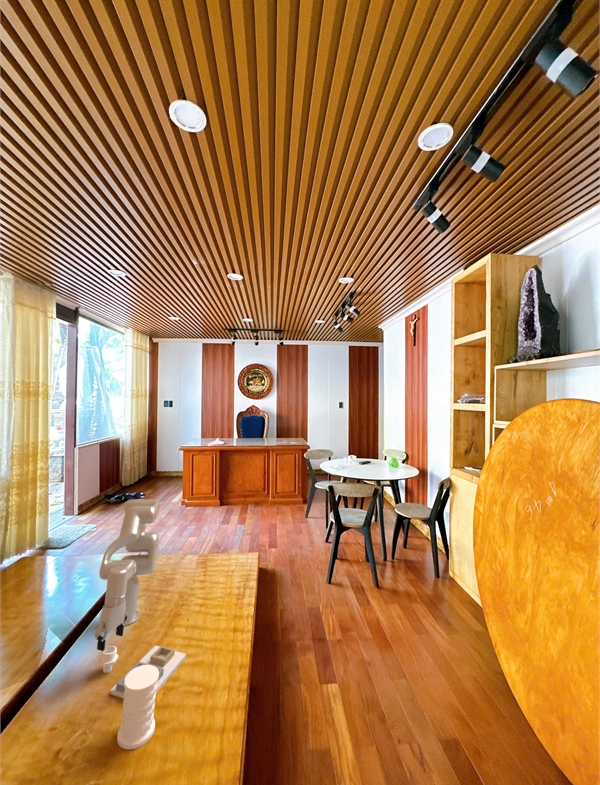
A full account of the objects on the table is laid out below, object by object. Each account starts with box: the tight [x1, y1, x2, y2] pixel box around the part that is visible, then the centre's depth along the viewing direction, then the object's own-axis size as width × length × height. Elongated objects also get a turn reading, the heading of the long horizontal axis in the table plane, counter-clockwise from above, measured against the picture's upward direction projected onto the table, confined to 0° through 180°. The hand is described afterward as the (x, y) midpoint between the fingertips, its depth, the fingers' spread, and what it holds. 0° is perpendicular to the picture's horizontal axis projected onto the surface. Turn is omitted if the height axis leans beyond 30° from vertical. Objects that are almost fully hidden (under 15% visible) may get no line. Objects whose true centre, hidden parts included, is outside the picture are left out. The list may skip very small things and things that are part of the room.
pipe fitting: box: [98, 645, 119, 674], centre depth 137 cm, size 6×7×8 cm
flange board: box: [109, 645, 187, 700], centre depth 137 cm, size 16×26×4 cm, turn 166°
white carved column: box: [116, 665, 159, 750], centre depth 113 cm, size 12×12×18 cm
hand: (110, 642), depth 137 cm, fingers open, 9 cm apart
